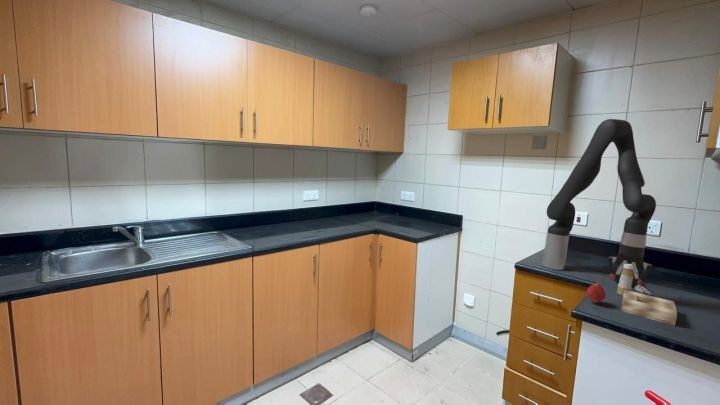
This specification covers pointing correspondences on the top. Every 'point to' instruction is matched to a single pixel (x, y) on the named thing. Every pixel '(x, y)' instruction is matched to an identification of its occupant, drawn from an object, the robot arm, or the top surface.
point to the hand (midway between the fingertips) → (625, 284)
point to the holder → (649, 307)
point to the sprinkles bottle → (625, 279)
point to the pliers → (639, 287)
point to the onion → (596, 293)
